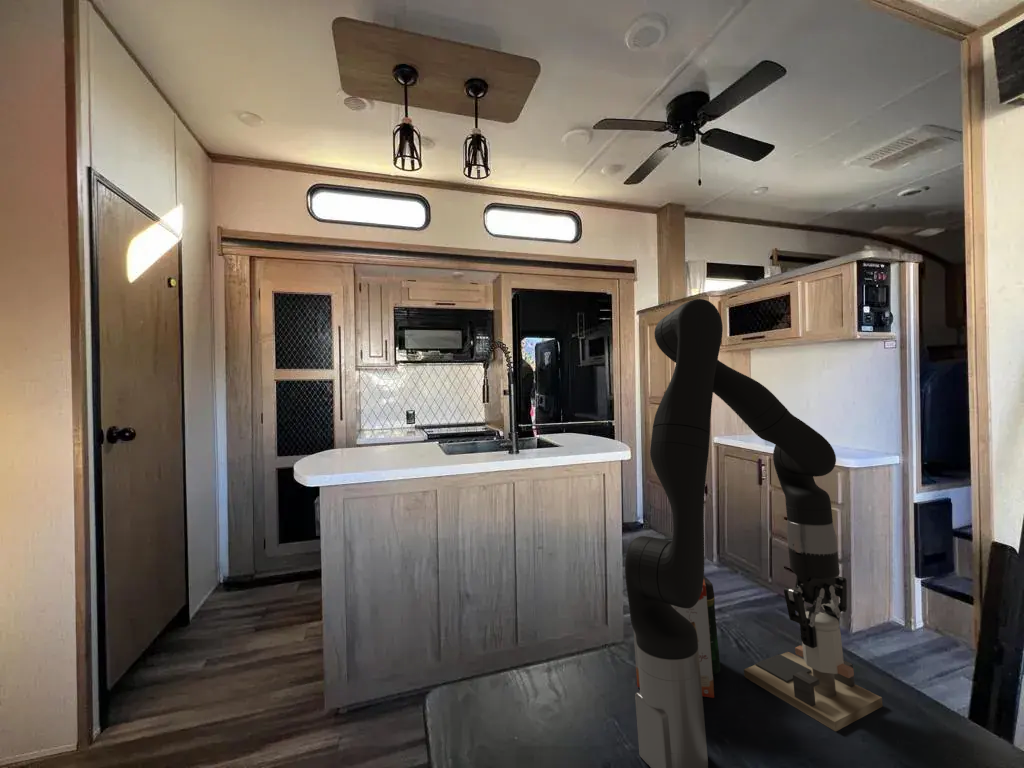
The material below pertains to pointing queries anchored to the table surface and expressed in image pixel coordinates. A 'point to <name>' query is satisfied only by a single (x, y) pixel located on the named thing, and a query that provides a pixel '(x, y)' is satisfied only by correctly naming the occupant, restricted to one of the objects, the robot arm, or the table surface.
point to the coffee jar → (712, 627)
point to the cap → (826, 647)
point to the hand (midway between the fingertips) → (821, 641)
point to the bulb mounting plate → (819, 694)
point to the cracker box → (701, 624)
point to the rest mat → (781, 667)
